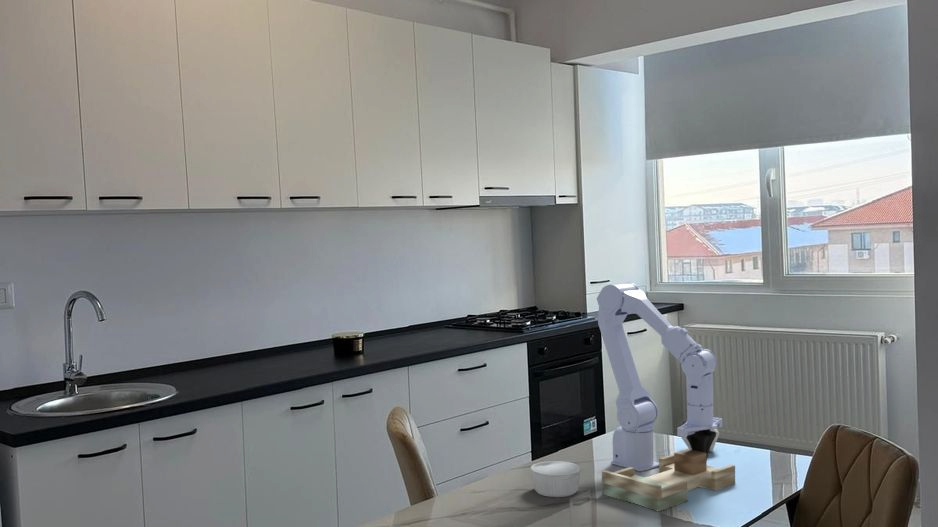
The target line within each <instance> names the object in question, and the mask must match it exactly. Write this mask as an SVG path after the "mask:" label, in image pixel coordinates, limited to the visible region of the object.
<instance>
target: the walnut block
mask: <svg viewBox="0 0 938 527" xmlns="http://www.w3.org/2000/svg"><path fill="white" fill-rule="evenodd" d="M673 454H674V471H678V472H682V473H686V474H690V475H696V474H699V473H701V472H704V471H707V466H708V464H707V462H708V460H707V461H706V453H704V452H700V451H695V450H691V449H689V448H686V449H682V450H679V451H676V452H674V453H673Z"/></svg>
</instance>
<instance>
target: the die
mask: <svg viewBox="0 0 938 527" xmlns="http://www.w3.org/2000/svg"><path fill="white" fill-rule="evenodd" d="M710 431H714V432H716V437H715V438H714V440H713V442H712V444H711V447H710V450H709V453H711V452H713V451H714V448H715V445H716V443H717V441H718V439H719V435H720V432H719V431H718V428H717V429H710ZM680 438H681V439H682V441H683V442H684V444H685V445H686V446H687V449H691V450H692V448H691V446H690V443H689V441H688V440H687V438H686V437H685V438H684V437H680Z"/></svg>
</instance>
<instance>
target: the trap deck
mask: <svg viewBox="0 0 938 527" xmlns="http://www.w3.org/2000/svg"><path fill="white" fill-rule="evenodd" d="M658 462H659V466H658V473H656V474H653V475H649V476H646V477H644V476H640V475H637V474H635V470H634V468H632V467H629V468H626V467H625V468H623V469H620V470H617V471H616V470H615V471H614V472H612V471H609V470H606V469H605V470H602V471H601V486H602V488H601V492H602V495H604V496H607V497H610V498H613V497H614V499H616V498H617V499H616V500H620V499H621V500H620V501H623V500H625V501H624V502H626V501H628V502H627V503H629V502H631V503H630V504H633V503H635V504H634V505H636V504H639V505H642V506H645V507H644V508H646V507H648V508H647V509H649V508H651V509H650V510H652V509H655V510H658V511H657V512H661V511H660V510H662V511H664V510H667V509H669V507H670V508H672V507H675V506H678V505H681V504H683V503H685V502H688V491H691V490H695V489H696V488H700V487H701V488H704V489H708V490H712V491H715V492H716V491H719V490H721V489H724V488H727V487H729V486H731V485H735V484H736V465H733V464H729V465H726V466H723V467H720V468H719V467H715V466H711V465H707V471H704V472H701V473H699V474H696V475H690V474H686V473H682V472H678V471H674V453H672V454H670V455H665V456H663V457H659V459H658ZM639 505H638V506H639ZM642 506H641V507H642ZM666 508H667V509H666ZM663 509H664V510H663ZM655 510H654V511H655Z"/></svg>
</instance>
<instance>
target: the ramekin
mask: <svg viewBox="0 0 938 527" xmlns="http://www.w3.org/2000/svg"><path fill="white" fill-rule="evenodd" d="M529 468H530V470H529V471H530V473H531V477H532V479H531V480H532V486H533V489H534V490H535V492H536V493H537V494H538V495H541V496H545V497H547V498H548V497H550V498H564V497H570V496H572V495H575V494H576V493H577V491H578V490H579V485H580V479H581V473H582V467H581V466H580V465H578V464H577V463H573V462H569V461H561V460H560V461H559V460H558V461H557V460H555V461H554V460H553V461H552V460H551V461H550V460H549V461H542V462H538V463H534V464H531V466H530V467H529Z"/></svg>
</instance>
